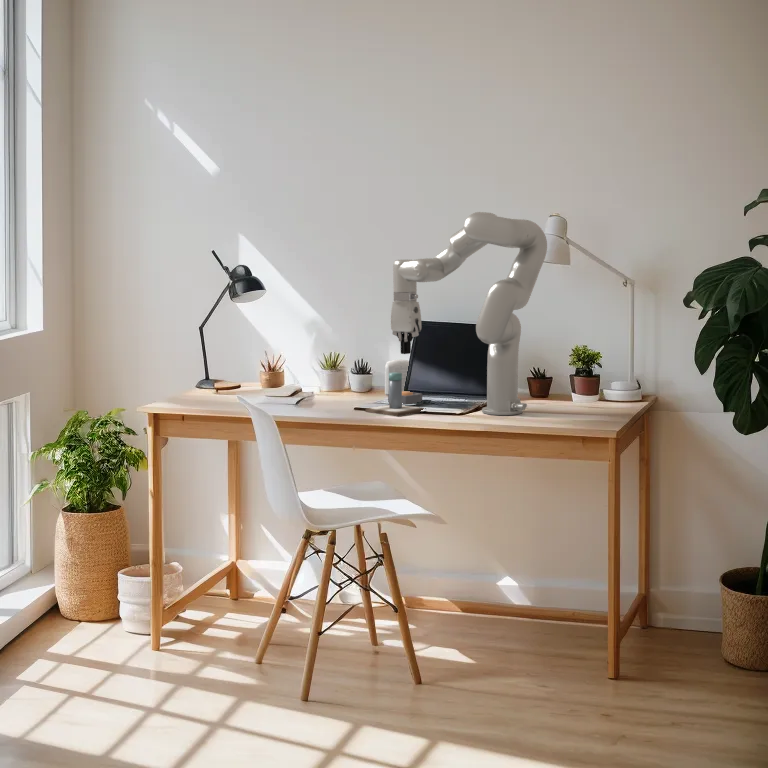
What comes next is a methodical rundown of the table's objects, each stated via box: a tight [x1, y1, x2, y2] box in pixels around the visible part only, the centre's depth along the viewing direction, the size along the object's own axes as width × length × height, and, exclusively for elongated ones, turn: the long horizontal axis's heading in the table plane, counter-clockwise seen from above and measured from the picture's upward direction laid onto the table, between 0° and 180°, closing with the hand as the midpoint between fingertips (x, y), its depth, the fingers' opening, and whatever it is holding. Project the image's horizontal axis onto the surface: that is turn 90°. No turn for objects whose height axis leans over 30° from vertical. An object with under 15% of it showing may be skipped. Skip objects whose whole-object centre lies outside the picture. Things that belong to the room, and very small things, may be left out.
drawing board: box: [365, 404, 427, 417], centre depth 314 cm, size 14×13×1 cm
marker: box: [389, 372, 402, 409], centre depth 313 cm, size 4×4×11 cm
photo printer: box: [384, 358, 410, 396], centre depth 352 cm, size 10×4×12 cm, turn 109°
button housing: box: [387, 392, 423, 404], centre depth 329 cm, size 8×8×4 cm
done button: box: [402, 391, 414, 396], centre depth 328 cm, size 5×5×2 cm
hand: (405, 353), depth 327 cm, fingers closed
